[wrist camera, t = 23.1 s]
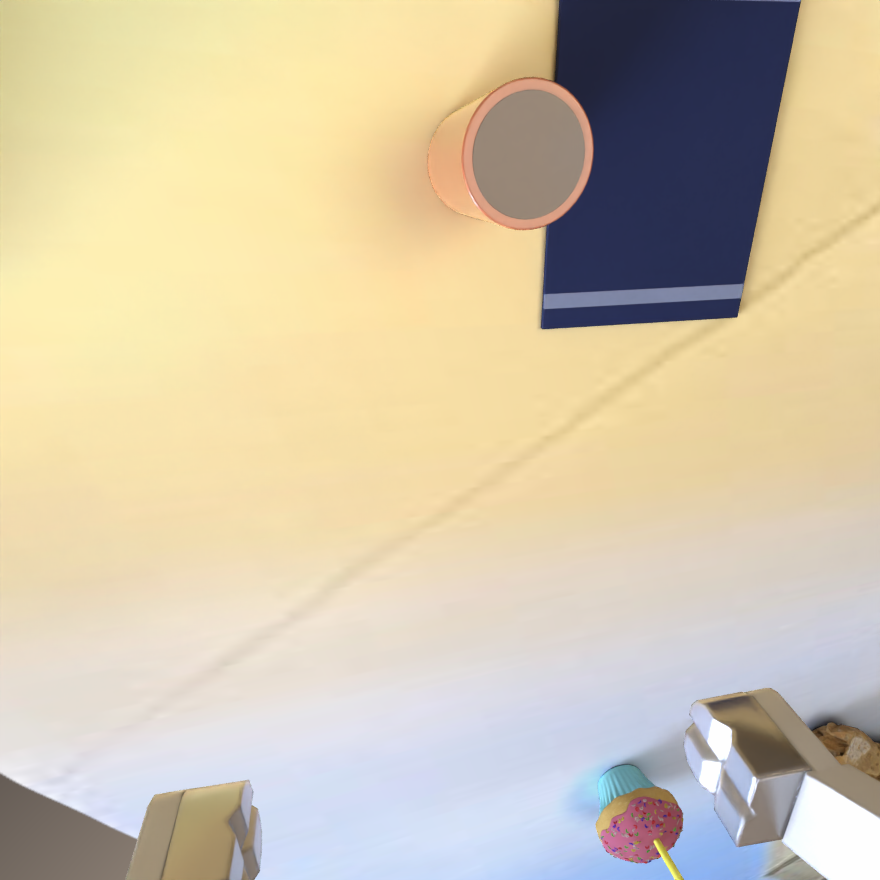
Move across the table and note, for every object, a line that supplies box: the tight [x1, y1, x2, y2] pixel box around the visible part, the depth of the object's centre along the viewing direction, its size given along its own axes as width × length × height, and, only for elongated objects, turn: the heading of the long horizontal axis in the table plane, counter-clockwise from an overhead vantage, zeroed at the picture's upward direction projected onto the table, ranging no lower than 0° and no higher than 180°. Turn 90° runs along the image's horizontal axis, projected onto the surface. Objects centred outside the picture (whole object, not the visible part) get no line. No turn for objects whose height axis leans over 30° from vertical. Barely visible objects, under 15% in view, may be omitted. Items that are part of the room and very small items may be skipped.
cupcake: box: [596, 765, 684, 880], centre depth 55 cm, size 9×8×12 cm
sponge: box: [812, 722, 880, 782], centre depth 62 cm, size 13×8×20 cm
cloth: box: [541, 0, 801, 329], centre depth 34 cm, size 20×14×1 cm
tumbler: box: [427, 77, 594, 230], centre depth 29 cm, size 6×6×10 cm
